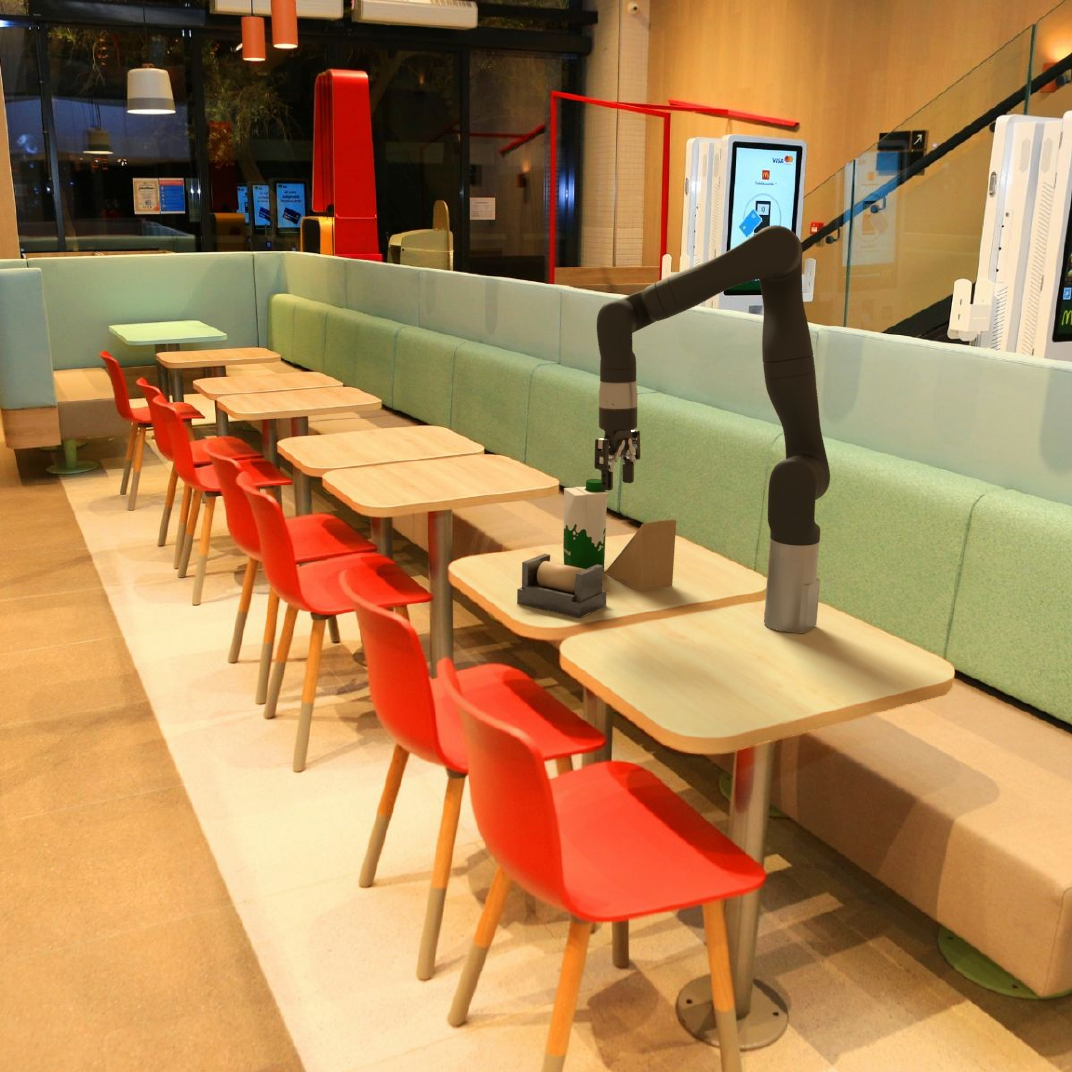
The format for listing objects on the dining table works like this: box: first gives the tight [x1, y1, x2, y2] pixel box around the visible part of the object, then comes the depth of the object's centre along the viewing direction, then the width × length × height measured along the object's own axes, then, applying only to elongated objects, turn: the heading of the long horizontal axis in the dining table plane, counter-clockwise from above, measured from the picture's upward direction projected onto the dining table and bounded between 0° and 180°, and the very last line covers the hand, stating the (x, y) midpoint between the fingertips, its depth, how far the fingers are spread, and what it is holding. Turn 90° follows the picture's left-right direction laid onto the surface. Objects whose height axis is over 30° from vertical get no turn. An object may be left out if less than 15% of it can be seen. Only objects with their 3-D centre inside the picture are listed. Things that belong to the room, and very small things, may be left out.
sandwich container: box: [604, 518, 677, 592], centre depth 248 cm, size 9×15×15 cm, turn 27°
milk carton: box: [562, 478, 610, 573], centre depth 254 cm, size 9×9×20 cm
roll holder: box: [516, 553, 608, 619], centre depth 231 cm, size 15×10×8 cm, turn 55°
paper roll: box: [537, 561, 585, 593], centre depth 230 cm, size 9×5×5 cm, turn 55°
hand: (617, 486), depth 227 cm, fingers open, 8 cm apart
